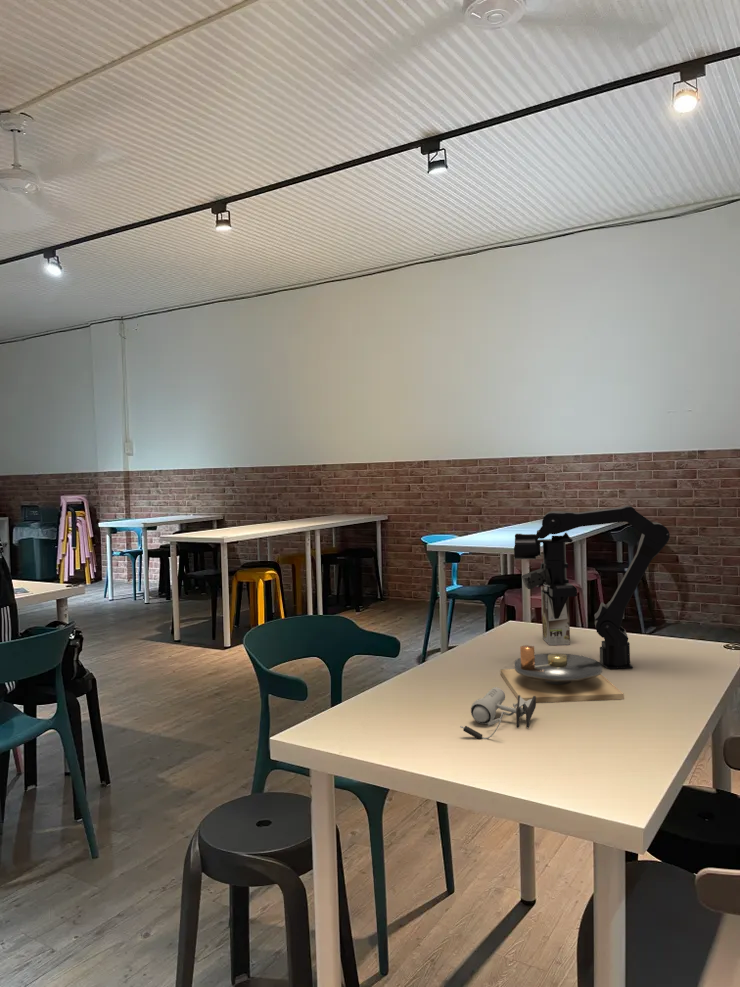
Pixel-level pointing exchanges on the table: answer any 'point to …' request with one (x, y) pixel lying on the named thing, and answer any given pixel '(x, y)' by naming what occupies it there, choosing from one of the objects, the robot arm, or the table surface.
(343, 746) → the table surface
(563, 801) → the table surface
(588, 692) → the board
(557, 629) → the coffee box
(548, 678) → the handwheel
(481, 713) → the clip-on lamp
